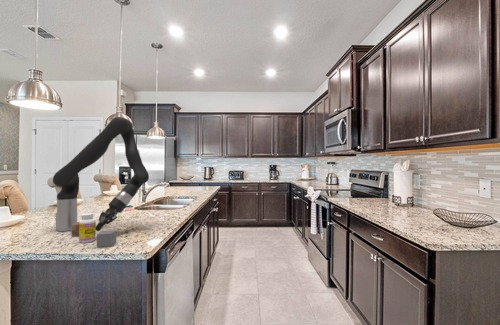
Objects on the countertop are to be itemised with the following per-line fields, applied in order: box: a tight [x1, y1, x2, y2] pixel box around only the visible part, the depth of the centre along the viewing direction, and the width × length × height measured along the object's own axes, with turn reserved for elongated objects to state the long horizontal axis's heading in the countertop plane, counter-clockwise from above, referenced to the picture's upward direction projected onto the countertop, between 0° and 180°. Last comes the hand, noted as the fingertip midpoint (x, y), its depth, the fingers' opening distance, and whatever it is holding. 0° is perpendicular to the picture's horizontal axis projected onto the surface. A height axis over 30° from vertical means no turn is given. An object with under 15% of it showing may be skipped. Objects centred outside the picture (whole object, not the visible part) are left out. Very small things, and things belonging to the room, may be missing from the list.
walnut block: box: [71, 221, 79, 238], centre depth 130 cm, size 6×6×6 cm
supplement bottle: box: [78, 212, 97, 244], centre depth 120 cm, size 7×7×13 cm
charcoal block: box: [96, 229, 117, 249], centre depth 114 cm, size 6×6×6 cm
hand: (96, 230), depth 123 cm, fingers closed
